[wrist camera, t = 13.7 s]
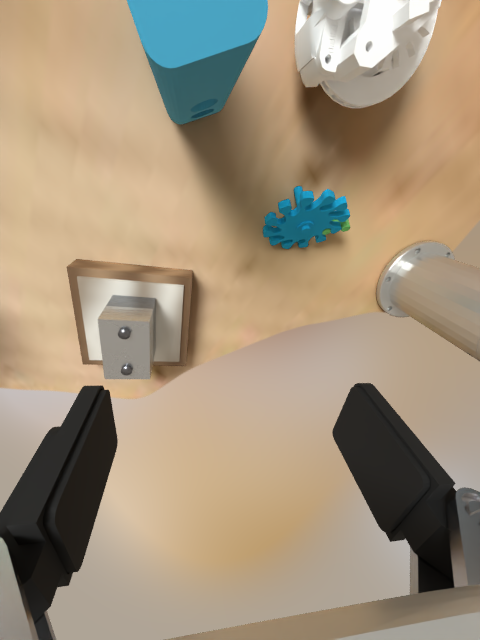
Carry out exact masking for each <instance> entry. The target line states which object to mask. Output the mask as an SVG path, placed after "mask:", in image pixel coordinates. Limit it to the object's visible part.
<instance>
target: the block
mask: <svg viewBox="0 0 480 640" xmlns="http://www.w3.org/2000/svg"><path fill="white" fill-rule="evenodd" d="M127 2H128V5H129V8H130V11H131V14H132V17H133V19H134V22H135V25H136V28H137V31H138V34H139V37H140V40H141V42H142V45H143V48H144V50H145V53H146V56H147V59H148V61H149V64H150V67H151V69H152V72H153V75H154V78H155V80H156V83H157V86H158V88H159V91H160V94H161V97H162V99H163V102H164V105H165V107H166V110H167V113H168V115H169V117H170V118H171V120H172V121H173V122H175V123H177V124H185V123H188V122H191V121H194V120H197V119H200V118H203V117H206V116H209V115H212V114H215V113H217V112H219V111H221V110H222V109H223V107H224V105H225V103H226V101H227V99H228V97H229V95H230V93H231V91H232V89H233V87H234V85H235V83H236V81H237V79H238V77H239V75H240V73H241V71H242V69H243V67H244V65H245V63H246V61H247V60H248V58H249V56H250V54H251V52H252V50H253V48H254V46H255V44H256V42H257V40H258V38H259V36H260V34H261V32H262V30H263V28H264V25H265V22H266V19H267V11H268V2H267V0H127Z"/></svg>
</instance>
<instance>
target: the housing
mask: <svg viewBox="0 0 480 640" xmlns="http://www.w3.org/2000/svg"><path fill="white" fill-rule="evenodd" d="M98 327H99V335H100V344H101V352H102V360H103V369H104V377H105V379H150V376H151V371H152V366H153V361H154V356H155V351H156V298H149V297H135V296H121V295H112V297H111V299H110V300H109V302H108V303H107V305H106V306H105V308H104V310H103V311H102V313H101V314H100V316H99V318H98Z"/></svg>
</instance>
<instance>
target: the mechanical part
mask: <svg viewBox="0 0 480 640" xmlns="http://www.w3.org/2000/svg"><path fill="white" fill-rule="evenodd" d="M441 1H442V0H300V2H299V8H298V13H297V19H296V27H295V59H296V66H297V70H298V72H299V71H300V74H301V78H302V82H303V84H304V85H305V86H306V87H317V86H318V85H319V84H320V85H321V86H322V88H323V90H324V91H325V93H326V94H327V95H328V96H329V97H330V98H331V99H332V100H333V101H335V102H337V103H338V104H340V105H342V106H345V107H348V108H364V107H368V106H372V105H374V104H377V103H380V102H382V101H384V100H385V99H387V98H389V97H391V96H392V95H393V94H395V93H396V92H397V91H398V90H399V89H401V88H402V86H403V85H404V84H405V83H406V82H407V81H408V80H409V79H410V77H411V76H412V75H413V73H414V72H415V70H416V69H417V67H418V66H419V64H420V62H421V60H422V58H423V56H424V54H425V52H426V50H427V47H428V45H429V42H430V39H431V37H432V34H433V30H434V26H435V22H436V18H437V12H438V8H439V7H440V5H441ZM307 15H310V17H309V18H308V20H307ZM306 20H307V21H306Z"/></svg>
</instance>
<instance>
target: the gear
mask: <svg viewBox="0 0 480 640" xmlns="http://www.w3.org/2000/svg"><path fill="white" fill-rule="evenodd" d="M294 194H295V199H296V205H297V207H296V208H295V209H293V210H291V209H292V207H291V202H290V200H289V199H286V200H283V201H281V202H279V203H278V207H279V212H280V213H282V214H283V215H285V216H284V217H283V218H280V219H278V218H276V214H275V213H274V212H270V213H269V214H267V215H266V216H265V224H266V225H265V226H264V227H263V236H264V237H269V241H270V244H271V245H272V246H273V245H277V244H278V243H280V242H281V245H282V248H285V249H289V248H291V246H292V245H293V244H294V243H295V242H297V241H298V247H300V248H303V247H307V246H308V241H309V240H310V239H311V238H312V237H313V236H315V239H316V242H317V243H318V242H322V241H325V240H326V236H325V235H326V234H329V233H330V232H331V233H332V234H334V233H336V232H338V231H340V230H341V231H343V232H344V231H348V230H349V229H350V225H349V221H348V218H349V217H350V213H349V209H347V202H346V198H345V196H343V197H340V198H338V199H337V200H336V199H335V195H334V192H333V191H331V190H329V189H327V190H325V191H324V192H323V193H322V194H321V196H320V197H319V198H318V199H317V200H316V201H314V196H313V192H312V191H303V190H302V187H301V186H297V187H295V188H294ZM313 201H314V202H313ZM272 226H277V227H276V228H274V227H272Z"/></svg>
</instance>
